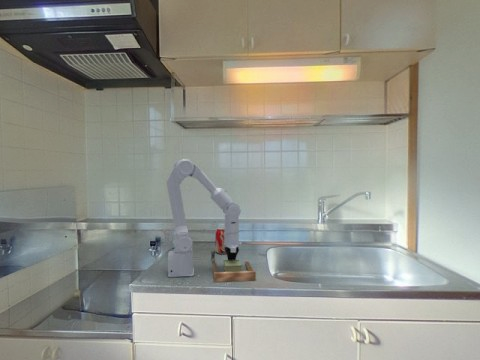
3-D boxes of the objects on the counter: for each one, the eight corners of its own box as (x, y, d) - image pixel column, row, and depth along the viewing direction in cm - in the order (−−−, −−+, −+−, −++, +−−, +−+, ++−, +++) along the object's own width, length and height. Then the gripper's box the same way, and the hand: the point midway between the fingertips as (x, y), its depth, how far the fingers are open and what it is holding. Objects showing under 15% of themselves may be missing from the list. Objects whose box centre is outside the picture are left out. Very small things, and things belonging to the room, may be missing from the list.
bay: (214, 282, 112) (214, 273, 112) (212, 266, 129) (212, 259, 129) (255, 280, 114) (255, 272, 113) (248, 265, 131) (248, 258, 131)
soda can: (217, 255, 145) (216, 229, 145) (214, 251, 152) (214, 226, 152) (231, 254, 147) (231, 228, 147) (228, 250, 154) (228, 226, 153)
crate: (225, 276, 117) (225, 266, 117) (223, 270, 124) (223, 260, 124) (241, 276, 118) (241, 265, 118) (239, 269, 125) (239, 259, 125)
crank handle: (215, 263, 133) (215, 256, 133) (211, 263, 133) (211, 256, 133) (214, 257, 141) (214, 251, 141) (211, 257, 141) (211, 251, 141)
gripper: (243, 235, 119) (243, 271, 119) (239, 228, 133) (239, 259, 134) (225, 236, 118) (225, 271, 118) (222, 228, 132) (222, 260, 133)
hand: (231, 265), depth 126 cm, fingers closed
